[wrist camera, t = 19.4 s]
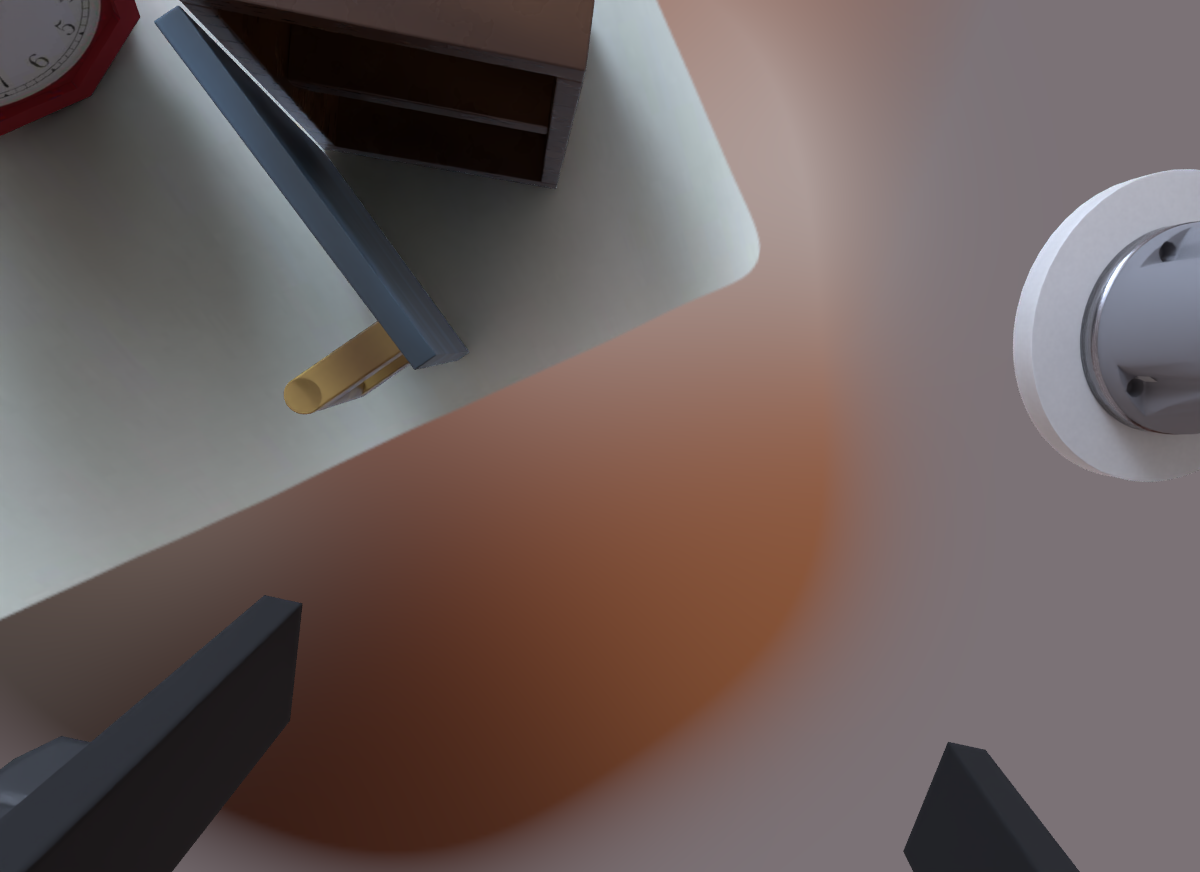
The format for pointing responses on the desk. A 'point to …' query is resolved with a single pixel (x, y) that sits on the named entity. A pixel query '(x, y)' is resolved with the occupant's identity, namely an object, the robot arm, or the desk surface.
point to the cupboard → (420, 76)
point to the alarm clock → (56, 53)
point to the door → (325, 234)
